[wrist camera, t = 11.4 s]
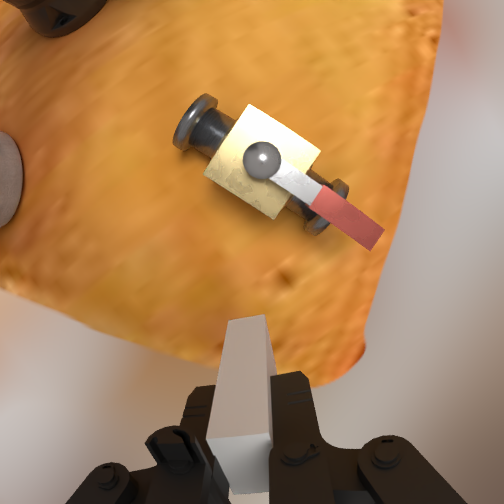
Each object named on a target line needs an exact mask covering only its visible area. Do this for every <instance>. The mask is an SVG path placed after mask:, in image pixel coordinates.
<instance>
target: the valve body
mask: <svg viewBox="0 0 504 504" xmlns="http://www.w3.org/2000/svg"><path fill="white" fill-rule="evenodd" d="M217 104H218V100H217V99H216V98H214V97H212V96H211V95H209V94H207V93H206V94H203V95H201V96H200V97H199V98H197V99H196V100H195V101H194V102H193V104H192V105H191V106H190V107H189V108H188V110H187V111H186V113H185V114H184V116H183V117H182V119H181V121H180V122H179V124H178V126H177V128H176V131H175V133H174V137H173V145H174V146H176V147H177V148H179V149H181V150H182V151H186V150H188V149H189V148H190V147H191V146H192V147H194V148H196V149H197V150H199V151H200V152H202V153H204V154H205V155H207V156H209V157H210V158H211V160H210V163H209V165H208V166H207V168H206V170H205V171H204V173H203V175H205V176H206V177H208V178H209V179H211V180H213V181H214V182H216V183H217V184H219V185H220V186H222V187H224V188H225V189H227V190H228V191H230V192H231V193H233V194H235V195H236V196H238V197H239V198H241V199H242V200H244V201H245V202H247V203H248V204H250V205H252V206H253V207H255V208H256V209H258V210H259V211H261V212H262V213H264V214H265V215H267V216H268V217H270V218H271V219H273V220H274V219H275V218H276V216H277V215H278V213H279V212H280V210H282V209H283V208H284V207H285V206H286V207H288V208H289V209H291V210H292V211H294V212H295V213H296V214H298V215H299V216H301V217H302V218H304V219H305V223H304V229H305V230H306V231H308V232H309V233H311V234H312V235H314V236H316V235H318V234H320V233H321V232H322V231H323V230H324V229H326V228H327V226H328V225H329V224H330V222H329V221H327V220H326V219H324V218H323V217H321V216H320V215H319V214H317V213H316V212H314V211H313V210H311V209H310V208H308V207H307V206H306V205H305V204H306V203H305V202H304V201H302V200H301V199H299V198H298V197H296V196H295V195H293V194H292V193H290V192H289V191H287V190H286V189H284V188H283V187H281V186H280V185H278V184H277V183H275V182H273V181H272V180H270V179H269V178H267V179H258V178H255V177H253V176H251V175H250V174H249V173H248V172H247V171H246V170H245V168H244V165H243V155H244V152H245V150H246V149H247V148H248V147H249V146H250V145H251V144H253V143H255V142H258V141H266V142H270V143H272V144H273V145H275V146H276V147H277V148H278V150H279V152H280V154H281V159H283V160H284V161H286V162H288V163H289V164H291V165H292V166H294V167H295V168H297V169H298V170H300V171H301V172H302V173H304V174H305V175H307V176H308V177H310V178H311V179H313V180H314V181H316V182H317V183H318V184H324V185H325V186H327V187H328V188H330V189H331V190H332V191H334V192H335V193H337V194H338V195H339V196H341V197H342V198H343V199H345V200H346V198H347V195H348V192H349V186H348V185H347V184H346V183H344V182H343V181H342V180H340V179H336V180H334V181H333V182H332V183H329V182H328V181H326V180H325V179H324V178H322V177H321V176H319V175H318V174H317V173H315V172H314V171H312V170H311V168H312V165H313V162H314V160H315V159H316V157H317V156H318V154H319V153H320V150H319V149H318V148H316V147H315V146H313V145H312V144H310V143H309V142H307V141H306V140H305V139H303V138H302V137H300V136H299V135H297V134H296V133H294V132H293V131H291V130H290V129H288V128H287V127H285V126H283V125H282V124H280V123H279V122H277V121H276V120H274V119H273V118H271V117H269V116H268V115H266V114H265V113H263V112H261V111H260V110H258V109H256V108H255V107H253V106H252V105H250V104H249V105H248V107H247V108H246V110H245V111H244V112H243V114H242V115H241V117H239V118H238V119H237V120H234V119H232V118H231V117H229V116H227V115H226V114H224V113H222V112H220V111H219V110H217V109H216V107H217Z"/></svg>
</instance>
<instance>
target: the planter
mask: <svg viewBox="0 0 504 504" xmlns="http://www.w3.org/2000/svg"><path fill="white" fill-rule="evenodd" d="M22 180H23V173H22V162H21V157H20V153H19V150H18V148H17V146H16V144H15V142H14V140H13V139H12V138H11V137H10V136H9V135H8V134H7V133H5V132H3V131H0V228H1V227H2V226H4V225H5V224H7V223H8V222H9V220H10V219H11V218H12V216H13V215H14V213H15V211H16V209H17V206H18V203H19V200H20V196H21V190H22Z"/></svg>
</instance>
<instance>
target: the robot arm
mask: <svg viewBox="0 0 504 504" xmlns="http://www.w3.org/2000/svg"><path fill="white" fill-rule="evenodd" d="M3 1H5V2H7V3H9V4H11V5H13V6H15V7H16V8H18V9H20V11H21V12H22V14H23V15H24V17H25V19H26V20H27V22H28V23H29V25H30V26H31V28H32V29H33V30H34V31H36V32H37V33H39V34H41V35H43V36H46V37H59V36H63V35H66V34H68V33H70V32H72V31H74V30H76V29H78V28H79V27H81V26H82V25H84V24H85V23H86V22H87V21H89V20H90V19H91V18H92V17H93V16H94V15H95V14H96V13H97V12H98V11H99V10H100V9H101V8H102V6H103V5H104V4H105V2H106V1H107V0H3ZM145 445H146V446H147V448H148V450H149V451H150V453H151V454H152V456H153V458H154V459H155V461H156V462H157V465H156V466H154V467H151V468H148V469H142V470H137V471H132V472H129V471H128V470H127V468H126V467H125V466H123V465H121V464H119V463H113V462H111V463H105V464H102V465H100V466H98V467H96V468H95V469H94V470H93V471H92V472H91V473H90V474H89V475H88V476H87V477H86V479H85V480H84V481H83V482H82V484H81V485H80V486H79V487H78V489H77V490H76V491H75V493H74V494H73V495H72V496H71V497H70V499H69V500H68V501H67V502H66V504H231V503H230V501H229V499H228V496H229V487H230V488H231V490H232V492H233V494H234V495H235V494H251V493H262V492H269V504H467V503H466V502H465V501H464V500H463V499H462V497H461V496H460V495H459V494H458V493H456V491H455V490H454V489H453V488H452V487H451V486H450V485H449V484H448V483H447V481H446V480H445V479H444V478H443V477H442V476H441V475H440V474H439V473H438V472H437V471H436V470H435V469H434V468H433V466H432V465H431V464H430V463H429V462H428V461H427V460H426V459H425V458H424V457H423V456H422V455H421V454H420V453H419V451H418V450H417V449H416V448H415V447H414V446H413V445H412V444H411V443H410V442H409V441H407V440H406V439H404V438H402V437H398V436H395V435H388V436H381V437H378V438H374V439H372V440H371V441H369V442H368V443H366V444H365V445H364V446H363V447H362V449H343V448H337V447H334V446H332V445H330V444H328V443H327V442H326V441H325V440H324V439H323V438H322V436H321V434H320V430H319V426H318V421H317V416H316V412H315V407H314V402H313V398H312V393H311V388H310V384H309V379H308V378H307V377H306V376H305V375H304V374H303V373H302V372H301V371H296V372H291V373H286V374H280V375H277V371H276V364H275V360H274V355H273V351H272V346H271V341H270V337H269V332H268V327H267V323H266V318H265V314H263V315H257V316H252V317H246V318H240V319H234V320H229V321H228V326H227V331H226V336H225V341H224V346H223V351H222V357H221V362H220V367H219V372H218V377H217V383H216V385H209V386H200V387H196V388H195V389H194V390H193V392H192V393H191V394H190V395H189V396H188V399H187V403H186V406H185V409H184V412H183V418H182V419H181V423H180V426H169V427H164V428H162V429H159V430H157V431H155V432H154V433H153V434H152V435H150V436H149V437H148V439H147V441H146V442H145Z"/></svg>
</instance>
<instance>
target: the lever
mask: <svg viewBox="0 0 504 504" xmlns="http://www.w3.org/2000/svg"><path fill="white" fill-rule="evenodd" d="M243 165H244V168H245V170H246V171H247V172H248V173H249V174H250V175H251V176H253V177H255V178H258V179H267V178H269V179H270V180H272V181H273V182H275V183H277V184H278V185H280V186H281V187H283V188H284V189H286V190H287V191H289V192H290V193H292V194H293V195H295V196H296V197H298V198H299V199H301V200H302V201H304V202H305V203H306V204H305V205H306V206H307V207H308V208H310V209H311V210H313V211H314V212H316V213H317V214H319V215H320V216H321V217H323V218H324V219H326V220H327V221H329V222H330V223H331V224H333V225H334V226H336V227H337V228H339V229H340V230H341V231H343V232H344V233H346V234H347V235H348V236H350V237H351V238H353V239H354V240H355V241H357V242H358V243H359V244H361V245H362V246H364V247H365V248H366V249H368V250H369V251H371V249H372V248H373V246H374V245H375V243H376V242H377V241H378V239H379V238H380V236H381V235H382V233H383V232H384V229H383V228H382V227H381V226H379V225H378V224H377V223H375V222H374V221H373V220H372V219H370V218H369V217H368V216H366V215H365V214H364V213H362V212H361V211H360V210H358V209H357V208H356V207H354V206H353V205H352V204H350V203H349V202H348V201H346V200H345V199H343V198H342V197H341V196H339V195H338V194H337V193H335V192H334V191H332V190H331V189H330V188H328V187H327V186H325V185H324V184H318V183H317V182H316V181H314V180H313V179H311V178H310V177H308V176H307V175H305V174H304V173H302V172H301V171H300V170H298V169H297V168H295V167H294V166H292V165H291V164H289V163H288V162H286V161H284V160H283V159H281V154H280V152H279V150H278V148H277V147H276V146H275V145H273V144H272V143H270V142H266V141H258V142H255V143H253V144H251V145H250V146H249V147H248V148H247V149H246V150H245V152H244V155H243Z"/></svg>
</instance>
